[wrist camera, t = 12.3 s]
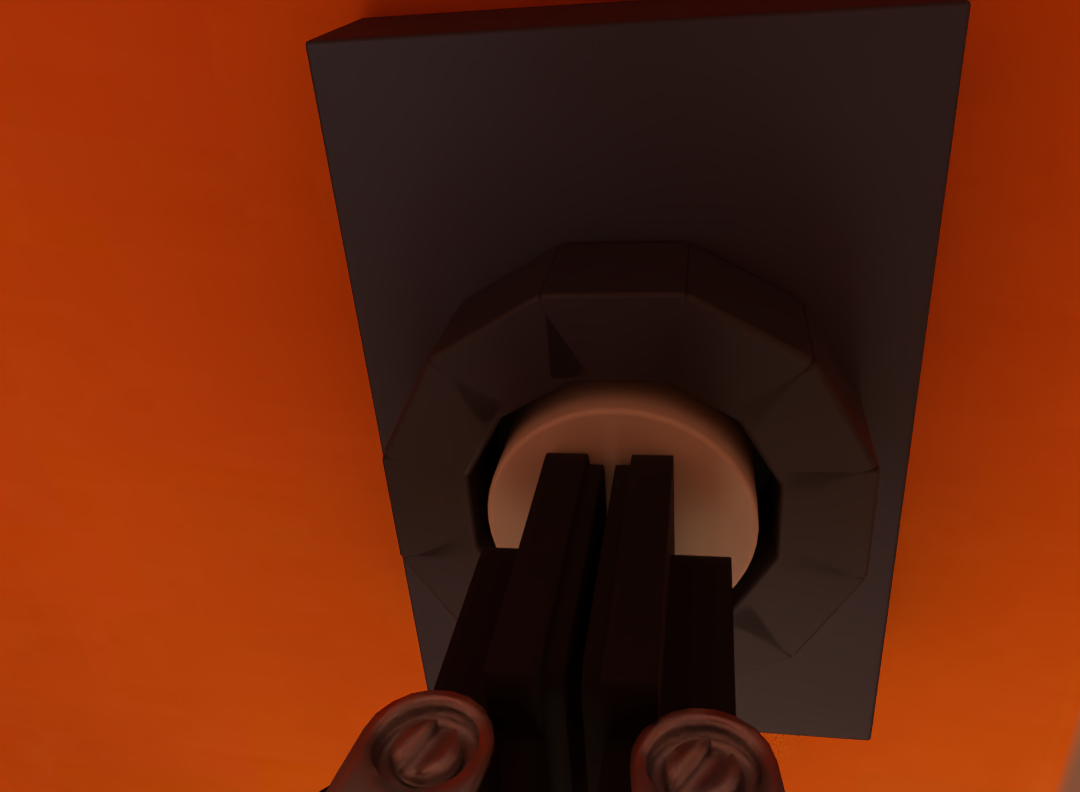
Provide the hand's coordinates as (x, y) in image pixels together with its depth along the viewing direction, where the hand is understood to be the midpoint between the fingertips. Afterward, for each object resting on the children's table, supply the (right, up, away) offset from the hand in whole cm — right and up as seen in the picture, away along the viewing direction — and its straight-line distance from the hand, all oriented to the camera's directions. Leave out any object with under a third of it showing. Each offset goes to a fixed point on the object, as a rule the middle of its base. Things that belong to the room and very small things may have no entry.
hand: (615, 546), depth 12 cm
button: (0, +1, +1) cm, 2 cm away
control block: (+1, +2, +3) cm, 4 cm away
